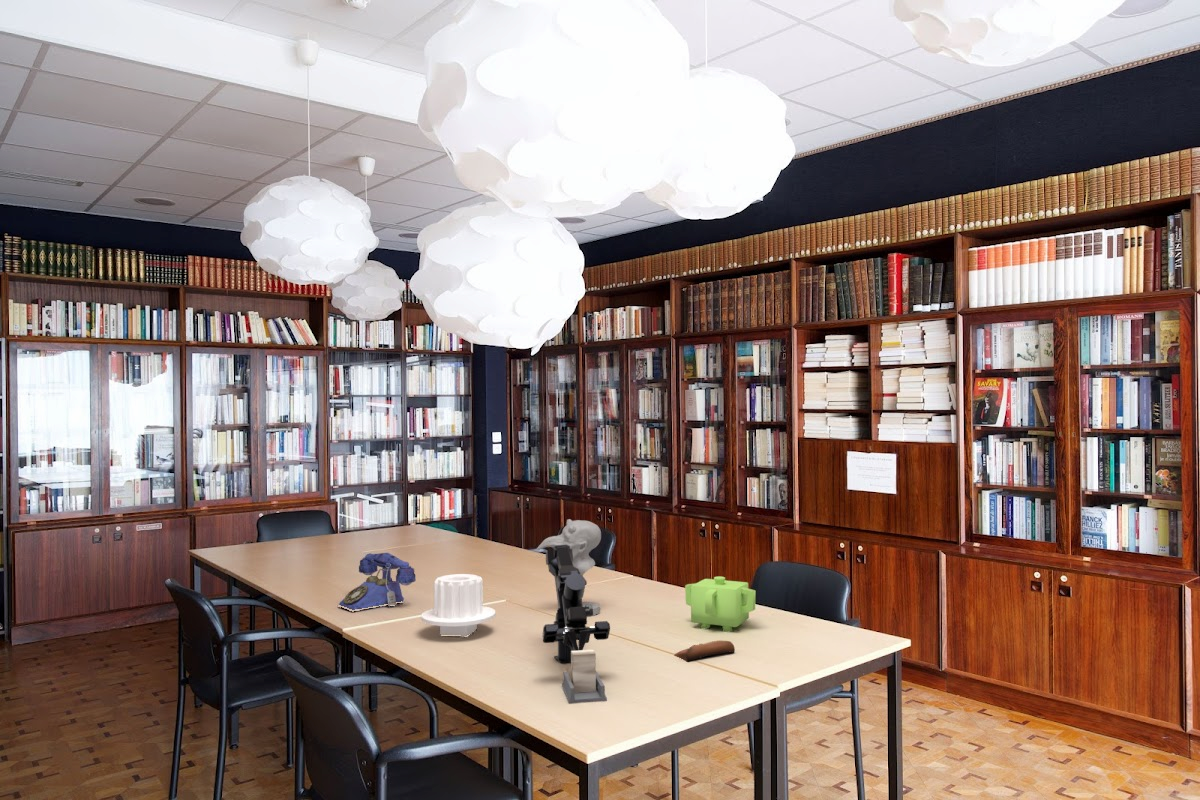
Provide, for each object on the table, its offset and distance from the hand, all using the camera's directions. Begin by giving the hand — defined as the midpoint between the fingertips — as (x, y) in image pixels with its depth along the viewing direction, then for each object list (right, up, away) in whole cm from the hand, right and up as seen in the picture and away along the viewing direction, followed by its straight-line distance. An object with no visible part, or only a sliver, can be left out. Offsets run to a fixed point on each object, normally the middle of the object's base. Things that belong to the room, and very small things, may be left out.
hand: (579, 659), depth 230 cm
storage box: (+48, -8, +62) cm, 79 cm away
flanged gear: (-43, -9, +56) cm, 71 cm away
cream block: (+1, -6, -6) cm, 9 cm away
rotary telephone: (-86, -10, +102) cm, 133 cm away
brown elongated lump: (+38, -8, +28) cm, 48 cm away
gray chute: (+1, -7, -6) cm, 10 cm away
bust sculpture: (-4, -9, +83) cm, 83 cm away
